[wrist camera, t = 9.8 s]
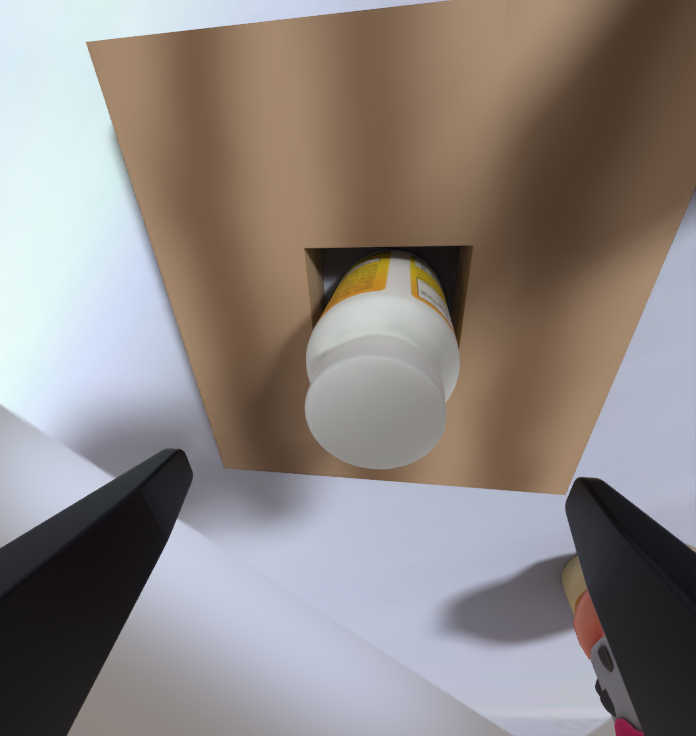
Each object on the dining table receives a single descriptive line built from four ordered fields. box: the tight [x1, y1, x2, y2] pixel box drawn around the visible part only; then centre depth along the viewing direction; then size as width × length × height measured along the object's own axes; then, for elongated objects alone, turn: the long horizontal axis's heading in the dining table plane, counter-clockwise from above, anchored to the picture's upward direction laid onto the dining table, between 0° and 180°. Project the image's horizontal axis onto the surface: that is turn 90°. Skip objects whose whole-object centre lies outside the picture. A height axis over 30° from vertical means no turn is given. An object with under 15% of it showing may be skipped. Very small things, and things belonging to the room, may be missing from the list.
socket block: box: [86, 0, 696, 495], centre depth 16 cm, size 20×20×3 cm
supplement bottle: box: [305, 250, 460, 469], centre depth 14 cm, size 5×5×10 cm
